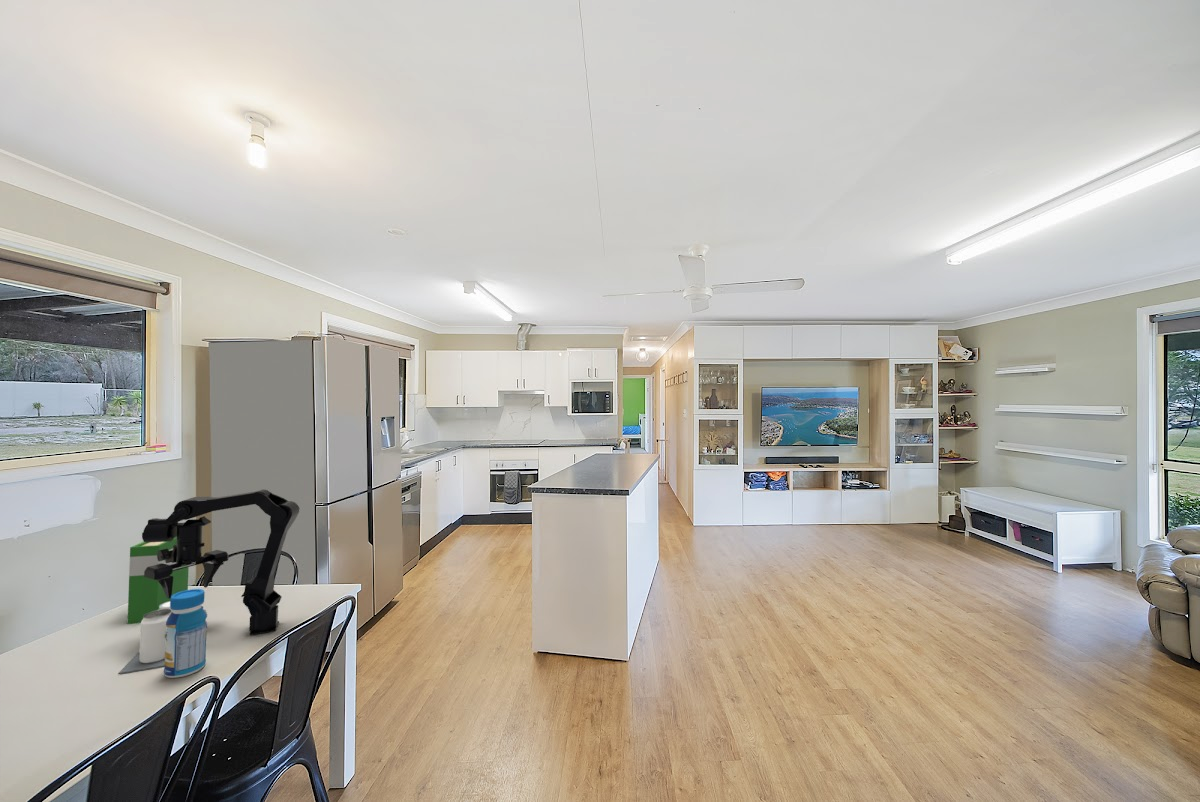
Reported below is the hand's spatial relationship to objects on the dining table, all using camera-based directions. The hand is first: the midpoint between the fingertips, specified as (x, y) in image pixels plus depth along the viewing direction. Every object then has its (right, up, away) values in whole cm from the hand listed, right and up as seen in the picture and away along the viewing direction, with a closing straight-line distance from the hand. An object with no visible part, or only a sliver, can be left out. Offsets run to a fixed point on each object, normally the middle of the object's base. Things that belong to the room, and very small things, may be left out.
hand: (187, 592), depth 140 cm
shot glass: (-10, -13, +6) cm, 18 cm away
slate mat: (+3, -13, -13) cm, 19 cm away
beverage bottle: (+15, -13, -18) cm, 27 cm away
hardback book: (-24, -13, +16) cm, 32 cm away
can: (+3, -13, -13) cm, 18 cm away
